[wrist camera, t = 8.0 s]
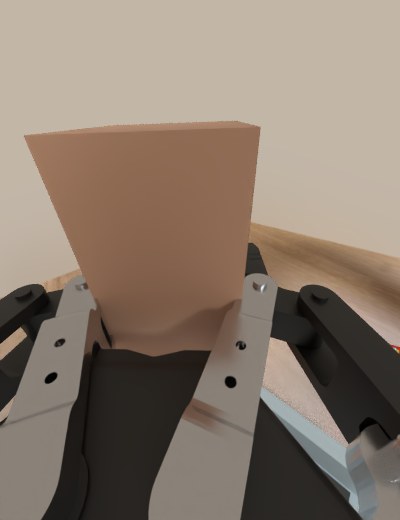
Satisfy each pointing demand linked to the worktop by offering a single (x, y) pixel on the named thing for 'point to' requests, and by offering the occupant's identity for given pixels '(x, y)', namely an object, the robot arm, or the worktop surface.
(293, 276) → the worktop surface
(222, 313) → the terracotta block
